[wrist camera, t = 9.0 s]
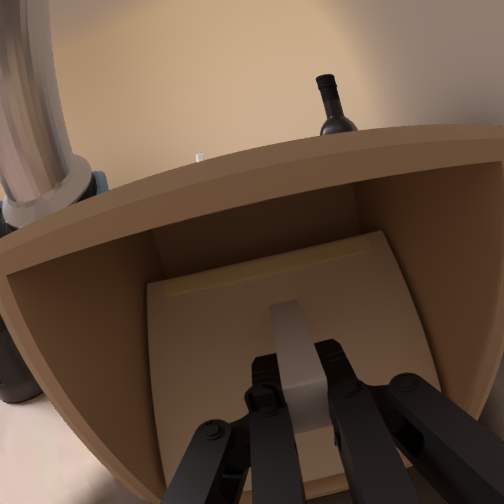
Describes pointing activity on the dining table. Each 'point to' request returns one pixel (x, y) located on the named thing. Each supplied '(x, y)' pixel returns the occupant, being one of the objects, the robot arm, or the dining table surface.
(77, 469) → the dining table surface
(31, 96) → the robot arm
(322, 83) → the wine bottle
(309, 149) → the carton
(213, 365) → the flap
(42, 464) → the dining table surface
